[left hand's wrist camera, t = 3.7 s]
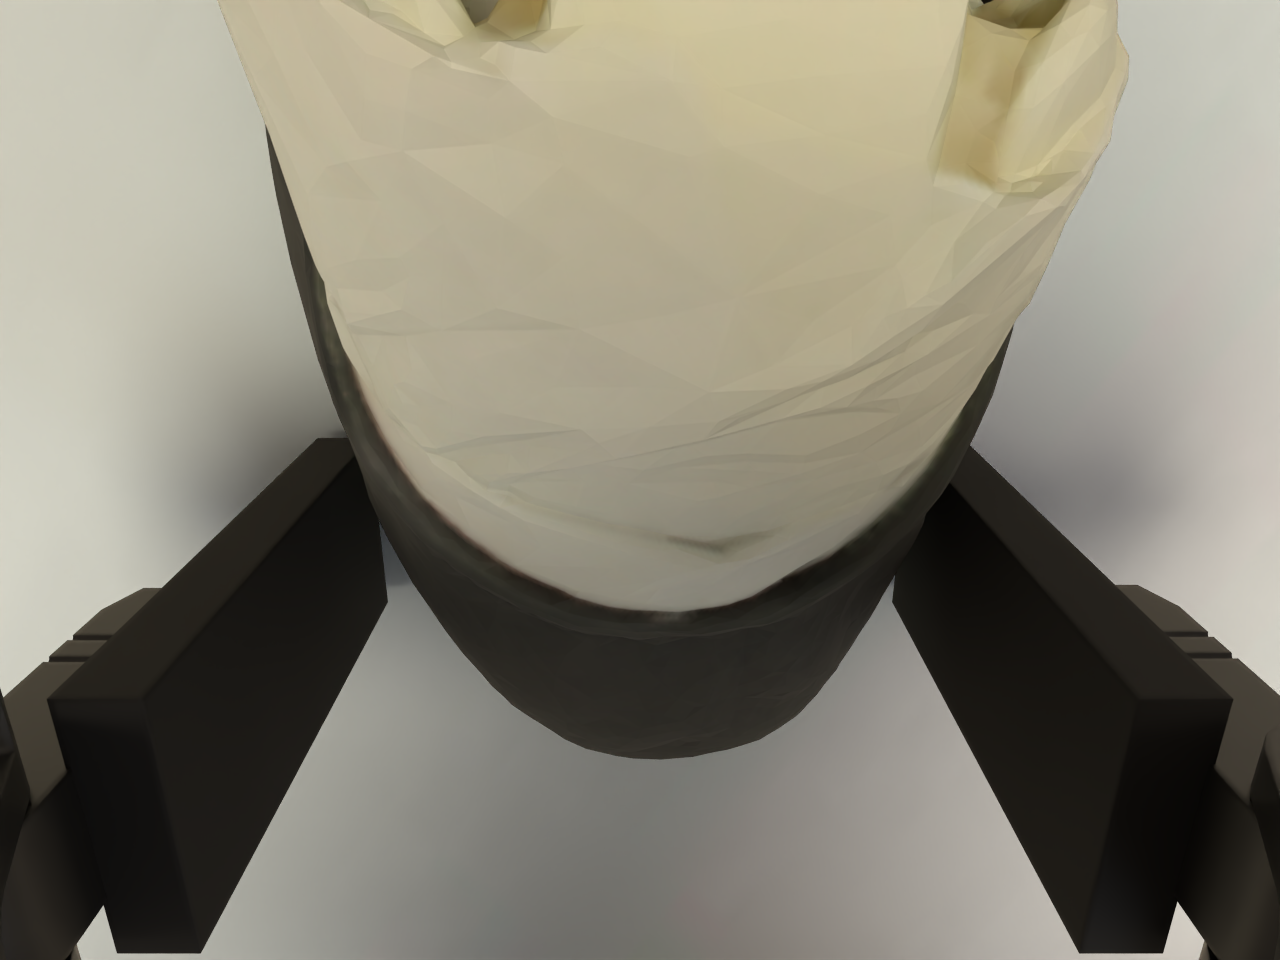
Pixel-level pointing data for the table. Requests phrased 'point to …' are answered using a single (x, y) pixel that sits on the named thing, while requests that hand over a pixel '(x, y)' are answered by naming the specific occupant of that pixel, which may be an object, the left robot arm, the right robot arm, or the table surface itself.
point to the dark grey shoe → (668, 311)
